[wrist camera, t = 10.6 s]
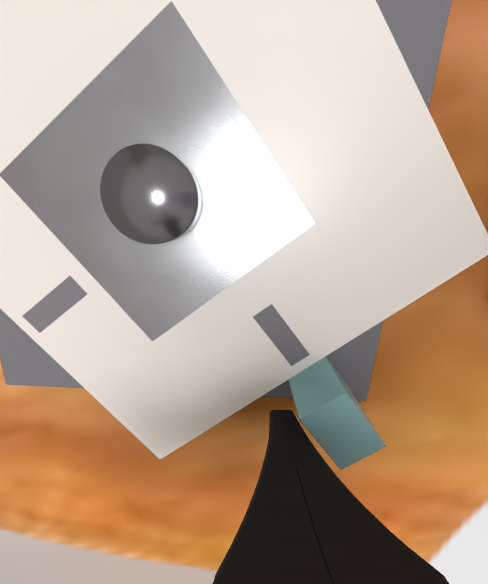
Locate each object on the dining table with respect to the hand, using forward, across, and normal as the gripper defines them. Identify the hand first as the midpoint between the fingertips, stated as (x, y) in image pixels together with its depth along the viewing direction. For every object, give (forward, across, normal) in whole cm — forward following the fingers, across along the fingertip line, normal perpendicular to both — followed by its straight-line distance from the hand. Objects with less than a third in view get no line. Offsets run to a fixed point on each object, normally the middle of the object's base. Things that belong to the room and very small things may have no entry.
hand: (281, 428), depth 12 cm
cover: (+1, +4, -10) cm, 10 cm away
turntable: (+2, +3, -8) cm, 9 cm away
